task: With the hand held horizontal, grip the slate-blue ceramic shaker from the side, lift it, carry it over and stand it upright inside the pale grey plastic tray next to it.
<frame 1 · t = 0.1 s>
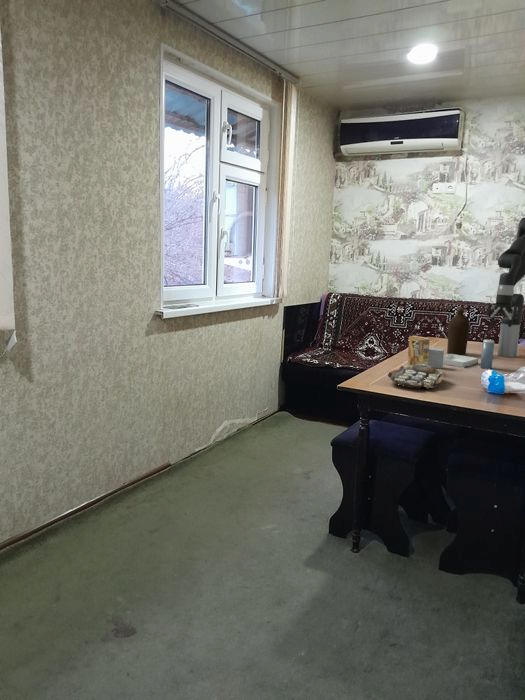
hand: (500, 326, 268), 17 cm above the table, tool pointing down, fingers open, 8 cm apart
medicine box: (433, 367, 249), on the table
shaker: (485, 367, 250), on the table
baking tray: (416, 383, 218), on the table
candy box: (416, 370, 242), on the table
brown bottle: (456, 354, 283), on the table
tray: (456, 363, 259), on the table
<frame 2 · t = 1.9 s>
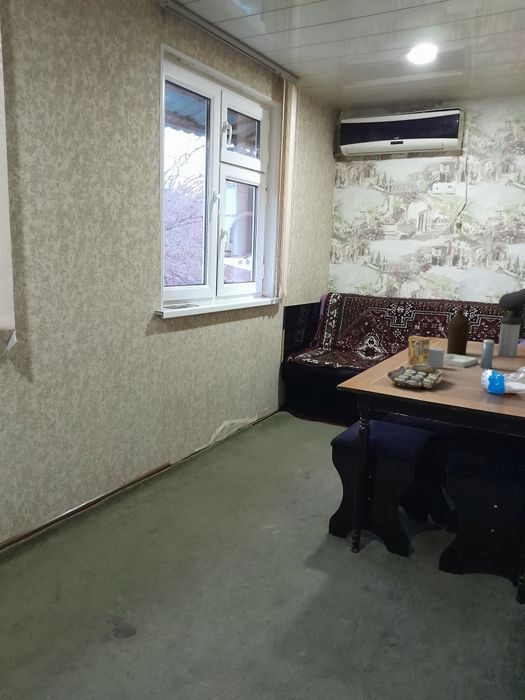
hand: (519, 319, 237), 24 cm above the table, tool horizontal, fingers open, 8 cm apart
nothing on the table moved.
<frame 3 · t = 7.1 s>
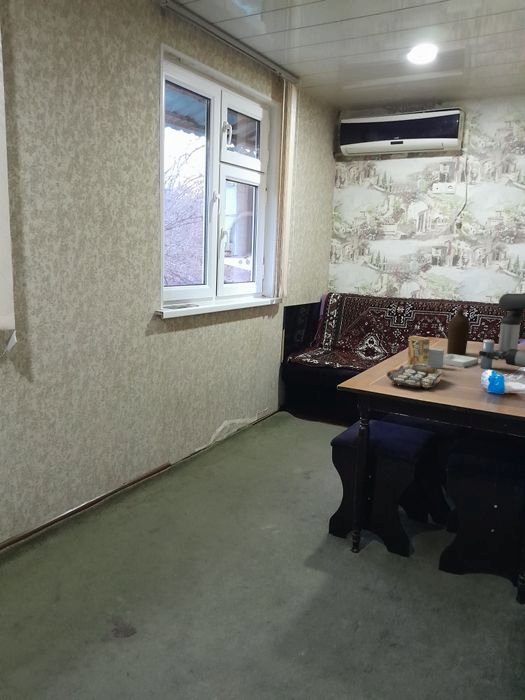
hand: (482, 352, 251), 7 cm above the table, tool horizontal, fingers closed on shaker, 5 cm apart
shaker: (485, 367, 250), on the table, touching gripper
everything else where it was.
when the fingers open (9 cm above the table, at t = 14.9 s): shaker drops 1 cm, resting on tray.
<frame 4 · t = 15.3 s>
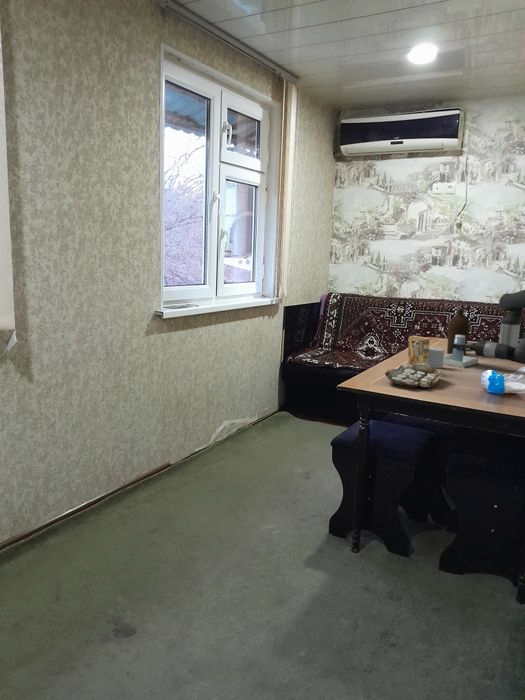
hand: (454, 344, 259), 9 cm above the table, tool horizontal, fingers open, 8 cm apart
shaker: (457, 361, 259), point 1 cm above the table, touching tray
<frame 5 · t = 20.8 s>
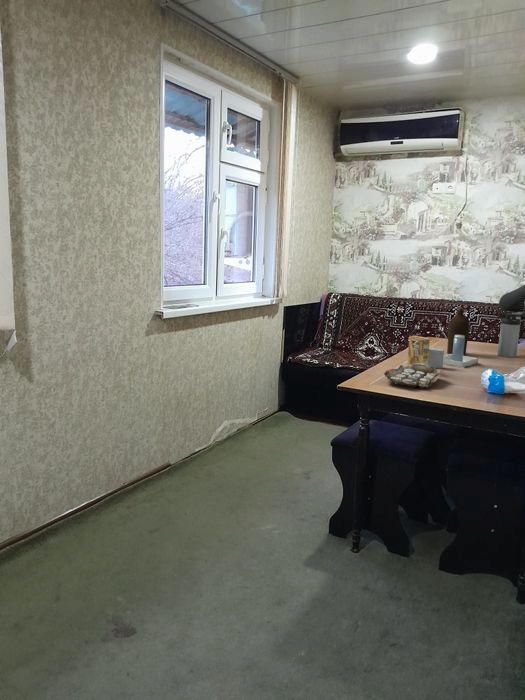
hand: (502, 314, 241), 26 cm above the table, tool horizontal, fingers open, 8 cm apart
at the end: shaker inside the target area on the tray (0.1 cm from its centre), point 0.5 cm above the tray's base; shaker tilted 0°; the gripper is holding nothing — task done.
